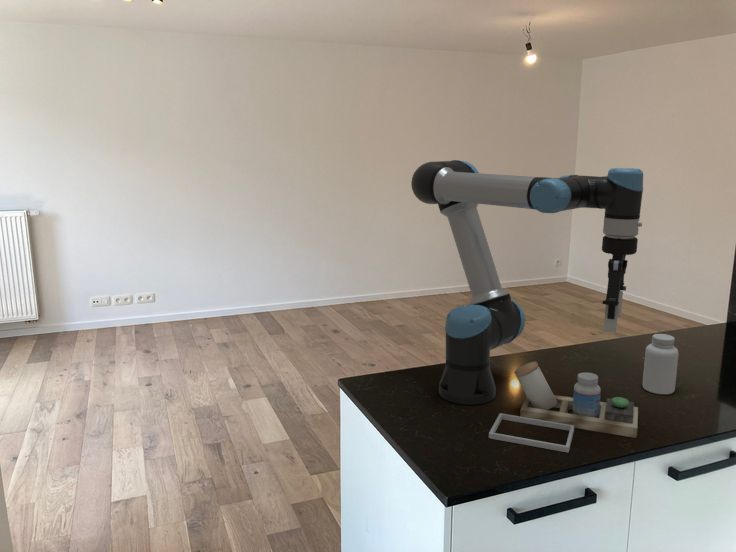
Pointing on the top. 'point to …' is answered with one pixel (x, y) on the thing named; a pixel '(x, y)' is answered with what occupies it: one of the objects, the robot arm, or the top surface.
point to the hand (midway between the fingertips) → (612, 323)
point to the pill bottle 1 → (587, 395)
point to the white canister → (535, 386)
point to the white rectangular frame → (529, 441)
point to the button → (620, 402)
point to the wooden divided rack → (607, 422)
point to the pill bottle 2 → (660, 365)
